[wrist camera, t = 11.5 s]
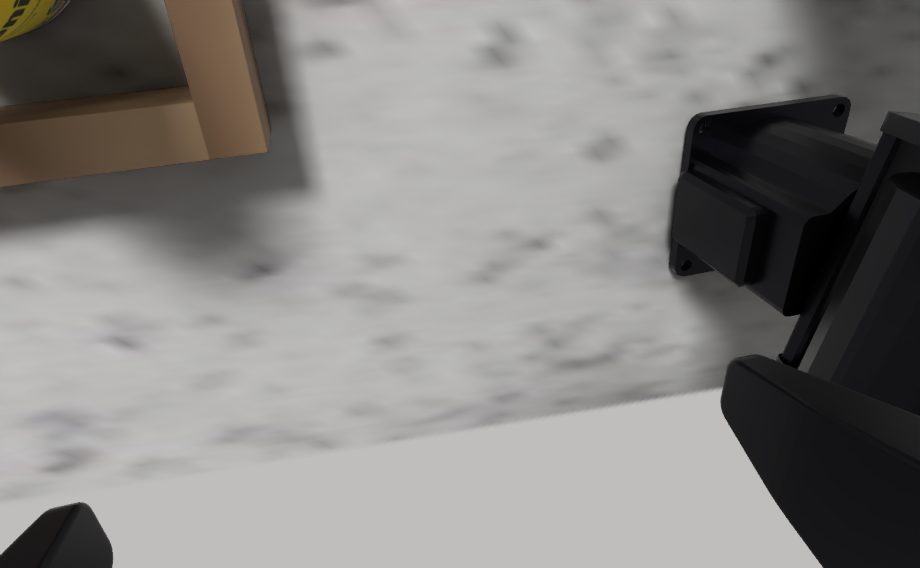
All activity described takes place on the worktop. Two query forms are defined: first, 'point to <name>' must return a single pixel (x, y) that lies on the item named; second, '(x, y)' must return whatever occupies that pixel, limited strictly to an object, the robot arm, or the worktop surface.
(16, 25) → the supplement bottle
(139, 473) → the worktop surface
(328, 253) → the worktop surface
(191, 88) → the brown wooden frame
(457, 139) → the worktop surface
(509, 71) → the worktop surface
